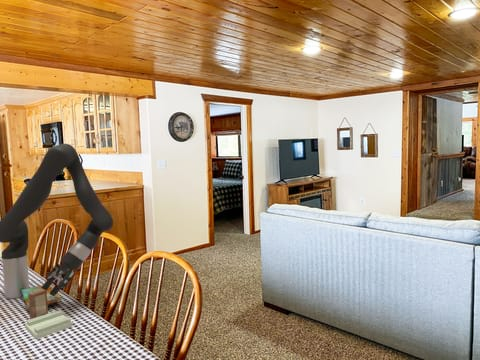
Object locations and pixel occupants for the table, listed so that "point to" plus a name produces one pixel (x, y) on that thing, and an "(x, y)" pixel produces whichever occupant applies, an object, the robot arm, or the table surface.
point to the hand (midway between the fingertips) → (47, 292)
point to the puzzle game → (50, 298)
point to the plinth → (48, 324)
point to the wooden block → (38, 303)
